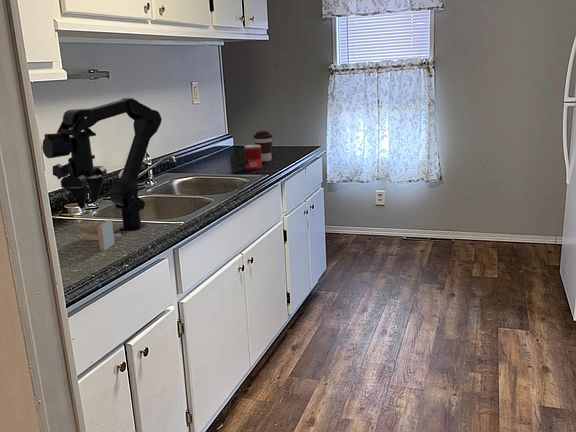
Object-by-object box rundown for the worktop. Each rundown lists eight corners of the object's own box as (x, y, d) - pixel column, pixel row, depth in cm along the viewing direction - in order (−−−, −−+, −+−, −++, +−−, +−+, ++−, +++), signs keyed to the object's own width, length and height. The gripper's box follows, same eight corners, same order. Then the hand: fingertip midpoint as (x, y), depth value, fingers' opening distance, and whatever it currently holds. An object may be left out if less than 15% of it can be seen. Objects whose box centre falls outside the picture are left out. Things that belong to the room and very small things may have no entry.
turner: (87, 236, 181) (85, 224, 180) (121, 236, 180) (119, 223, 179) (80, 241, 176) (78, 228, 175) (115, 241, 175) (113, 228, 174)
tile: (109, 243, 173) (106, 220, 171) (114, 243, 173) (111, 220, 171) (100, 250, 166) (96, 227, 164) (105, 250, 166) (102, 226, 164)
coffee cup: (271, 162, 299) (270, 132, 295) (252, 162, 301) (251, 133, 297) (275, 158, 309) (274, 130, 305) (257, 159, 310) (255, 130, 307)
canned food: (265, 167, 284) (263, 145, 281) (253, 170, 279) (251, 147, 276) (254, 166, 289) (253, 144, 287) (242, 168, 284) (240, 146, 281)
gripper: (69, 149, 181) (77, 198, 185) (39, 159, 163) (47, 213, 167) (104, 147, 180) (110, 197, 184) (77, 158, 162) (84, 212, 166)
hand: (88, 204), depth 175 cm, fingers open, 9 cm apart
